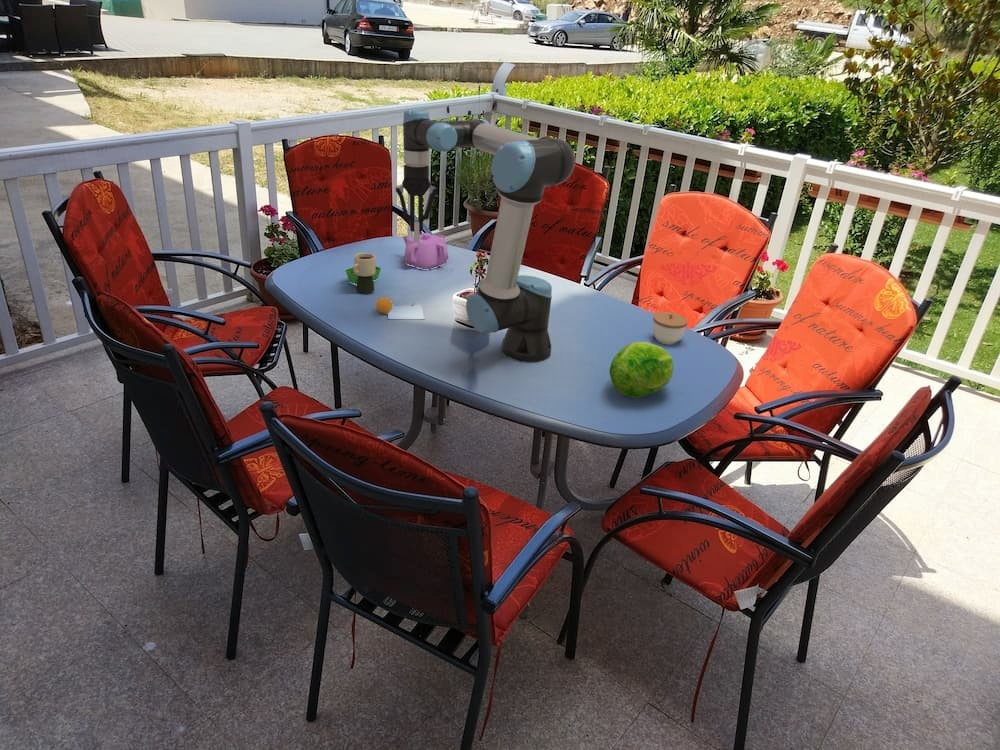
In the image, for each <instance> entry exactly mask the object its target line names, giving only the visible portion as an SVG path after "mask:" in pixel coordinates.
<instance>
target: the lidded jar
mask: <svg viewBox="0 0 1000 750" xmlns="http://www.w3.org/2000/svg"><path fill="white" fill-rule="evenodd" d="M687 325H688V319H687V318H686V317H684V316H683V315H680V314H678V313H673V312H669V311H667V312H666V311H664V312H657V313H655V314H654V315H653V318H652V333H653V336H654V337H655V338H656V340H657V342H659V343H660V344H663V345H671V346H672V345H674V344H676V343H677V342H679V341H680V340H681V339H682V338H683V336H684V334H685V332H686V328H687Z"/></svg>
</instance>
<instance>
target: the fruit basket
mask: <svg viewBox="0 0 1000 750" xmlns="http://www.w3.org/2000/svg"><path fill="white" fill-rule="evenodd" d="M375 270H376V271H375V274H374V275H373V276H372V277H373V280H376V279H378V280H379V276H380V272H381V270H382V268H381V267H378V266H377V265H376V266H375ZM345 274H346V276H347V279H348V282H349V281H350V282H352V283H355V284H357V278H358V276H359V275H357V274H354V271H353V267H352V268H348V269H347V268H346V269H345Z"/></svg>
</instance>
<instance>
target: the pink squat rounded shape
mask: <svg viewBox="0 0 1000 750" xmlns="http://www.w3.org/2000/svg"><path fill="white" fill-rule="evenodd" d="M402 239H403V241H404V243H405V250H404V263H407V264H409V265H413V266H415V267H419V268H422V269H431V268H434V267H437V266H439V265H442V264H444V263H446V264H447V261H448V259H449V255H448V254H449V252H448V251H449V249H448V245H447V244H446V243H447V241H446V235H444V234H443V235H442V234H441V235H439V236H438V235H436V234H431V233H429V232H423V233H420V234H419V243H415V242H414V236H413V237H410V236H409V235H403V237H402ZM444 265H445V264H444Z"/></svg>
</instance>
